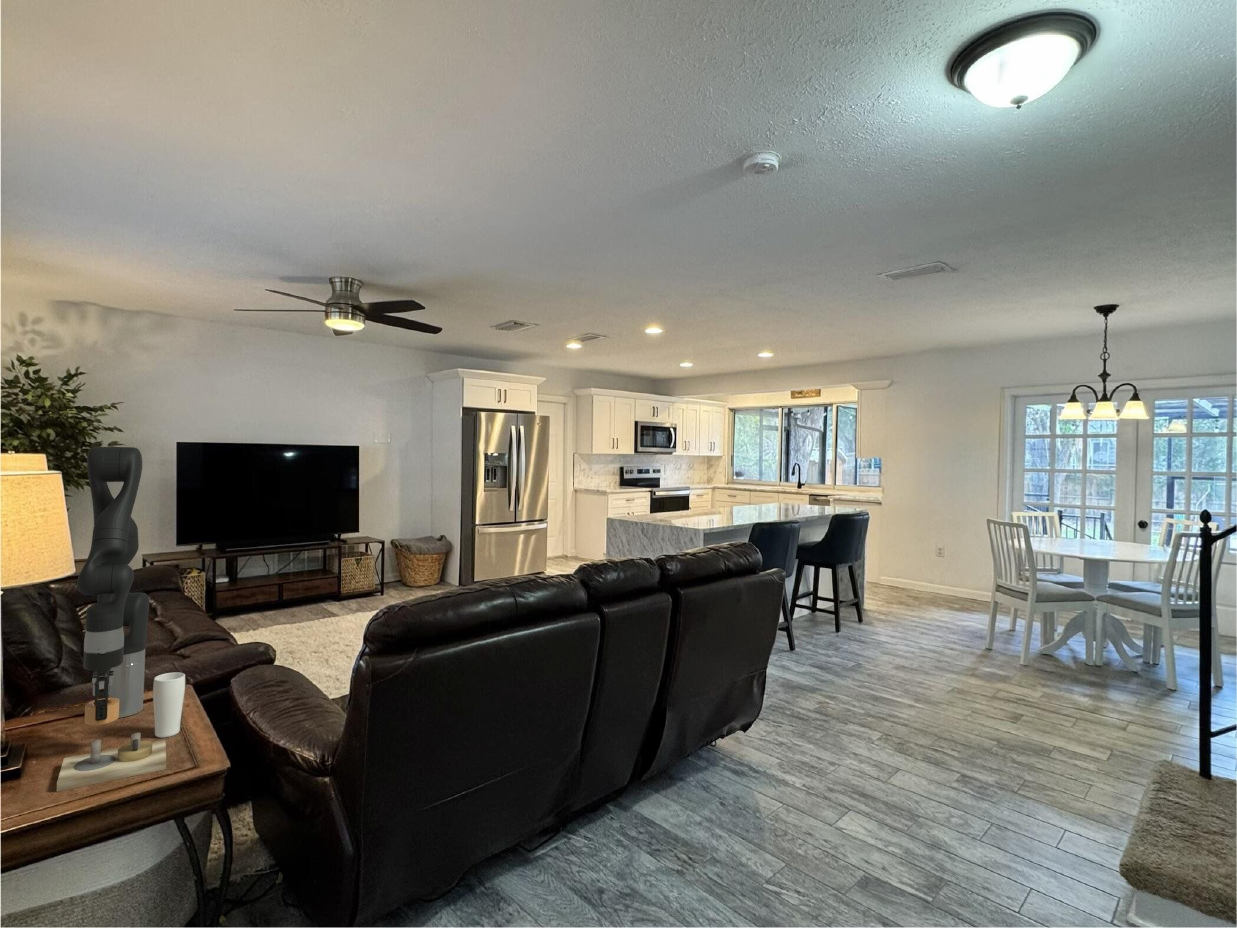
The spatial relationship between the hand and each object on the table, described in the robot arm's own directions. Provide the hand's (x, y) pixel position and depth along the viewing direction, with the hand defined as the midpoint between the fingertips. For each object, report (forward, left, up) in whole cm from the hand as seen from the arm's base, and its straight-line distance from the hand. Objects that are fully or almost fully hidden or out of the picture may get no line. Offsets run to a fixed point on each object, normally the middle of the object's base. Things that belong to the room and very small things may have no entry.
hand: (102, 714), depth 153 cm
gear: (0, 0, -1) cm, 1 cm away
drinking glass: (-3, +13, -9) cm, 16 cm away
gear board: (+12, +3, -9) cm, 16 cm away
